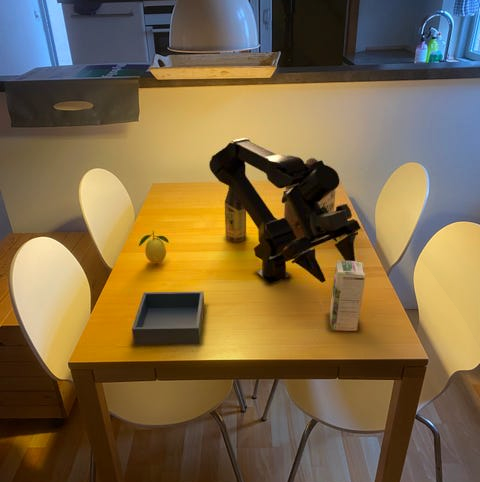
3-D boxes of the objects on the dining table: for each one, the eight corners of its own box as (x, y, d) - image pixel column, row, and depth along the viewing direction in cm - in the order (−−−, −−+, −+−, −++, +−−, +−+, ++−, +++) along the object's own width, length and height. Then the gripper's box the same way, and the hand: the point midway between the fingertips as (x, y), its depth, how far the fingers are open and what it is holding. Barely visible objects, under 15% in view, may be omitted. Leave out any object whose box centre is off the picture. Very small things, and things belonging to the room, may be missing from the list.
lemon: (142, 268, 128) (136, 235, 123) (148, 257, 133) (143, 225, 127) (166, 269, 127) (161, 236, 122) (171, 258, 132) (167, 226, 127)
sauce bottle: (222, 236, 143) (219, 172, 133) (241, 232, 145) (239, 169, 135) (230, 245, 138) (228, 179, 127) (250, 240, 140) (249, 176, 129)
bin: (134, 344, 101) (131, 329, 98) (145, 307, 112) (143, 292, 110) (200, 343, 100) (198, 328, 98) (204, 306, 112) (203, 291, 110)
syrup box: (328, 315, 108) (334, 260, 100) (355, 316, 107) (362, 260, 99) (330, 330, 103) (336, 273, 95) (358, 331, 103) (366, 274, 95)
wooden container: (327, 242, 138) (334, 169, 126) (278, 236, 142) (280, 164, 130) (335, 221, 150) (341, 152, 138) (290, 216, 154) (292, 149, 142)
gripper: (293, 205, 92) (329, 277, 90) (359, 184, 101) (393, 249, 99) (267, 228, 102) (299, 293, 100) (330, 206, 111) (360, 266, 109)
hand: (339, 275), depth 102 cm, fingers open, 9 cm apart
